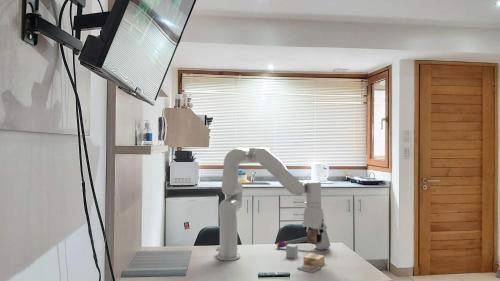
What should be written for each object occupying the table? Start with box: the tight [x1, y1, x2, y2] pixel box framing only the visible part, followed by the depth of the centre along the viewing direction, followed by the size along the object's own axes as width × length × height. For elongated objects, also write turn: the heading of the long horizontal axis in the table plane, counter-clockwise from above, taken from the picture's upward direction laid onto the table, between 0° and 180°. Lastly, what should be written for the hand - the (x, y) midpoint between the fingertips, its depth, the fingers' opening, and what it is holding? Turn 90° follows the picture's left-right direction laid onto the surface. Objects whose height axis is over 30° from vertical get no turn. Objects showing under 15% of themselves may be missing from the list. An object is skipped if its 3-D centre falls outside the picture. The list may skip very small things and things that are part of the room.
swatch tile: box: [297, 264, 322, 274], centre depth 176 cm, size 8×8×1 cm
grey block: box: [285, 243, 299, 259], centre depth 198 cm, size 5×5×6 cm
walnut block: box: [306, 228, 321, 246], centre depth 185 cm, size 5×5×7 cm
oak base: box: [303, 252, 325, 267], centre depth 185 cm, size 8×8×4 cm
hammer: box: [276, 227, 331, 251], centre depth 213 cm, size 15×8×30 cm
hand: (314, 240), depth 185 cm, fingers closed on walnut block, 5 cm apart
